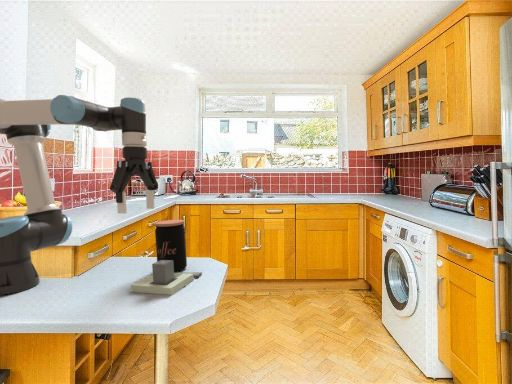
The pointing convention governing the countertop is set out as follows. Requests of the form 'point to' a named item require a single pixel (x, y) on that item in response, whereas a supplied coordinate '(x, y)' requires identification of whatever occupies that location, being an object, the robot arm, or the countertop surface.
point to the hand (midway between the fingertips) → (137, 210)
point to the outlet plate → (149, 287)
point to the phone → (195, 274)
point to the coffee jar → (171, 243)
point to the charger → (163, 272)
